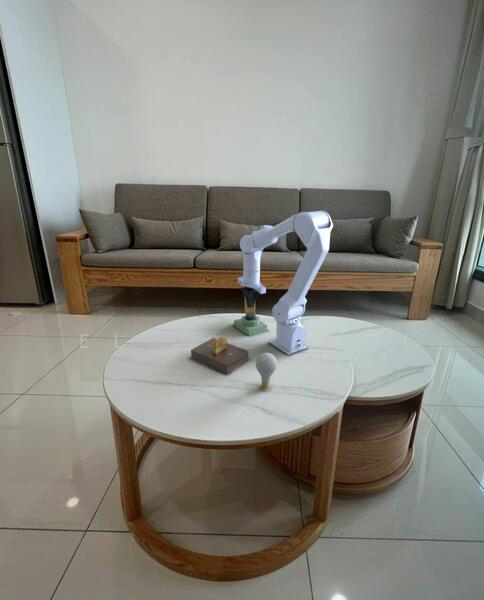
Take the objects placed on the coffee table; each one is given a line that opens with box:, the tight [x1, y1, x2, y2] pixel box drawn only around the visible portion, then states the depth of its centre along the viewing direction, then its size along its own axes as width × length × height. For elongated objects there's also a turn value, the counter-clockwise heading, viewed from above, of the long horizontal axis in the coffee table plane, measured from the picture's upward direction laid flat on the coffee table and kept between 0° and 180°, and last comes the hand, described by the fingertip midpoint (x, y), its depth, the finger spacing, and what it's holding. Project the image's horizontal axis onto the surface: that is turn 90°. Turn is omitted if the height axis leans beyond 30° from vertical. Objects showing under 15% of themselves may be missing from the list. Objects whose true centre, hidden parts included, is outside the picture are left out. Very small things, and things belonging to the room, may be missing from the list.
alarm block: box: [233, 314, 268, 337], centre depth 117 cm, size 10×8×4 cm
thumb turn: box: [212, 335, 228, 354], centre depth 95 cm, size 5×2×4 cm, turn 145°
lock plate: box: [190, 337, 249, 375], centre depth 97 cm, size 14×10×3 cm
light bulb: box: [255, 352, 278, 389], centre depth 83 cm, size 6×6×10 cm
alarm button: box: [245, 312, 256, 321], centre depth 116 cm, size 4×4×2 cm
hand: (250, 306), depth 115 cm, fingers closed
